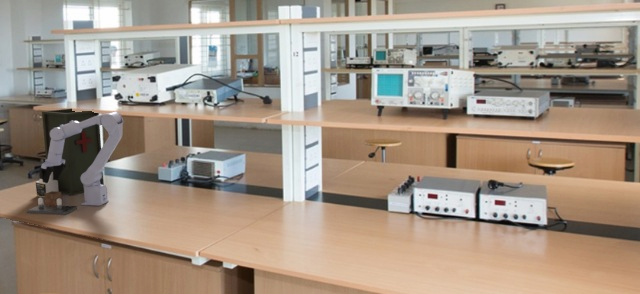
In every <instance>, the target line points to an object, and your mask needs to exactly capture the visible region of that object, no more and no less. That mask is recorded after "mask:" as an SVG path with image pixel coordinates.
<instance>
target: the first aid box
mask: <svg viewBox="0 0 640 294" xmlns="http://www.w3.org/2000/svg"><path fill="white" fill-rule="evenodd" d="M41 115H42V116H41V117H42V128H43V129H42V130H43V136H44V137H43V140H44V151H45V152H44V153H45V160H46V159H48V153H49V147H50V142H51V137H50V131H51V130H52V129H54V128H57V127H60V125H62V124H63V125H65V124H68V123H70V121H72V120H73V121H78V122H82V121H84V120H87V119H90V118H92V117H95V116H97V115H100V113H94V112H92V111H82V112H75V111H72V108H63V109H62V108H61V109H53V110H44V111H41ZM100 126H101V125H98V124H95V125H92V126H89V127H86V128H83V129H82V131H81V133H78V134H75V135H72V136H70V137H67V138H65V142H64V148H63V153H62V159H64V160H65V164H63V165H66V167H65V168H64V170H63V171H62V172H61V174H60V176H59V179H58V180H57V181H58V189H59V192H61V195H67V196H78V195H79V194H84V184H83V183H82V182H81V179H80V178H81V175H82V174H83V173H85V172H86V171H87V169H88V168H89V167H90V166H91V165H92V164H93V162H94V160H95V159H96V157H97V155H98V154H99V152H100V150H101V149H102V143H101V140H102V139H101V127H100ZM50 169H52V170H53V171H52V172H54V169H53V166H52V167H50ZM53 180H56V179H53ZM100 184H102V185H105V184H104V171H103V172H102V178H101V179H100Z"/></svg>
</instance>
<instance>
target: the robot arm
mask: <svg viewBox="0 0 640 294" xmlns="http://www.w3.org/2000/svg"><path fill="white" fill-rule="evenodd" d="M95 124H98V125H100V126H102V127H103V128H104V129H105V130H106V132H107V134H108V137H107V139H106V141H105V142H104V143H103V145H102V146H101V150H100V152H99V154H98V155H97V157H96V159H95V160H94V162H93V164H92V165H91V166H90V167H89V168H88V169H87V171H86V172H85V173H83V174H82V175H81V178H80V179H81V182H82V183H83V184H84V193H83V194H84V202H82V203H80V205H81V206H96V207H97V206H98V207H99V206H102V205H104V204H106V203H108V202H109V198H108V197H109V196H108V189H107V186H106V185H105V184H104V185H102V184H100V179H101V178H102V172H103V173H104V170H105V169H104V168H105V166H106V165H107V163H108V161H109V160H110V157H111V156H112V155H113V153H114V151H115V149H116V148H117V146H118V144H119V143H120V141H121V140H122V138H123V134H124V133H123V130H124V129H123V124H124V119H123V116H122V115H121V113H120V112H118V111H112V112H105V113H101V114H99V115H97V116H95V117H92V118H90V119H87V120H84V121H82V122H78V121H73V120H72V121H70V123H68V124H65V125H63V124H62V125H60V127H57V128H54V129H52V130H51V131H50V137H51V142H50V147H49V153H48V159H46V158H45V159H44V161H45V162H43V163H41V166H39V171H40V172H41V173H42V180H43V182H44V183H48V181H49V177H50V175H51V173H52V171H53V170H52V169H50V167H52V166H53V169H54V172H53V179H56V180H58V179H59V176H60V174H61V172H62V171H63V170H64V168H65V167H66V165H63V164H65V160H64V159H62V153H63V148H64V142H65V138H67V137H70V136H72V135H75V134H78V133H81V131H82V129H83V128H86V127H89V126H92V125H95Z"/></svg>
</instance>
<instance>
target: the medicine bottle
mask: <svg viewBox="0 0 640 294" xmlns="http://www.w3.org/2000/svg"><path fill="white" fill-rule="evenodd" d="M38 174H39V175H38V176H39V177H38V178H39V180H37V181H35V191H36V196H37V197H39V198H40V197H41V198H45V194H46V193H49V192H51V191H54V192H59V189H58V181H57V180H53V172H52V173H51V175H50V177H49V181H48V183H44V182H43V180H42V173H41V171H39V173H38Z"/></svg>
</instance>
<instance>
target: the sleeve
mask: <svg viewBox="0 0 640 294" xmlns="http://www.w3.org/2000/svg"><path fill="white" fill-rule="evenodd" d="M62 195H63V194H61V192H54V191H51V192H49V193H46V194H45V197H44V205H57V199H58V198H60V199H61V200H62V201H63V198H62V197H63V196H62Z"/></svg>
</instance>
